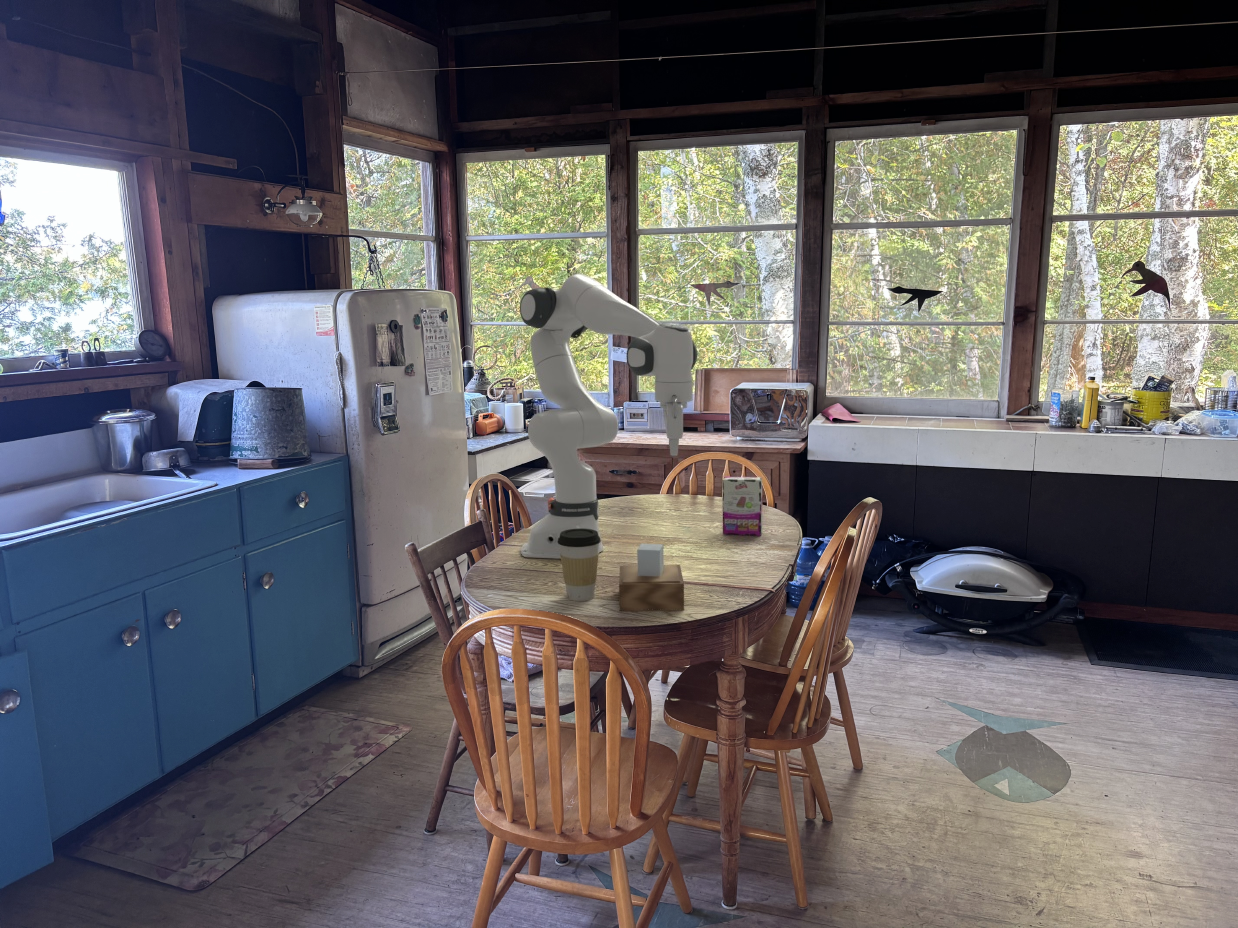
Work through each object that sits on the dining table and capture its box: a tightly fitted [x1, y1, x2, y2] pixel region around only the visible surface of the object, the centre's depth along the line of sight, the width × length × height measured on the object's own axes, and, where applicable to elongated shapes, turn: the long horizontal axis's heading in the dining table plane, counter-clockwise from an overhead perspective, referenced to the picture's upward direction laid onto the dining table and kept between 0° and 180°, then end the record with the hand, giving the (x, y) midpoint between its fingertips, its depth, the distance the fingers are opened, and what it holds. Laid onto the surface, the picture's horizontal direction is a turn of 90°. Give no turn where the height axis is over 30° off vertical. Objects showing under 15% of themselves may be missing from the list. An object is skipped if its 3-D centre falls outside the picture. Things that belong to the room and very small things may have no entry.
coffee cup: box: [558, 528, 602, 602], centre depth 195 cm, size 10×10×15 cm
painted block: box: [636, 543, 665, 577], centre depth 192 cm, size 5×5×6 cm
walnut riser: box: [618, 563, 685, 612], centre depth 193 cm, size 14×14×6 cm
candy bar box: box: [721, 476, 763, 537], centre depth 248 cm, size 11×5×16 cm, turn 76°
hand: (673, 451), depth 203 cm, fingers open, 8 cm apart
